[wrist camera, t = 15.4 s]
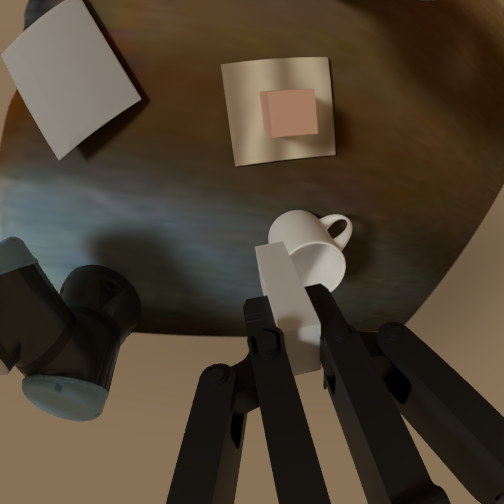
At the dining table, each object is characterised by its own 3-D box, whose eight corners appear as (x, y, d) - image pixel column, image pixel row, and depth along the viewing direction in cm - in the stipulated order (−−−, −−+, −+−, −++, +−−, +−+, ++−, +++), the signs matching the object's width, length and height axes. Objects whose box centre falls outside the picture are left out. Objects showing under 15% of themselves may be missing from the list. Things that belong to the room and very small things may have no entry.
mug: (349, 226, 47) (377, 261, 38) (287, 268, 50) (302, 310, 41) (322, 183, 43) (350, 211, 34) (255, 230, 46) (265, 269, 37)
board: (235, 165, 41) (235, 166, 41) (220, 65, 34) (220, 64, 34) (334, 154, 41) (335, 154, 41) (326, 57, 34) (327, 57, 34)
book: (67, 167, 39) (56, 174, 35) (6, 57, 28) (-9, 57, 24) (149, 106, 36) (142, 108, 33) (79, -9, 25) (68, -16, 22)
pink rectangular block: (264, 130, 38) (272, 137, 32) (259, 91, 35) (266, 91, 30) (303, 126, 38) (318, 133, 32) (299, 88, 36) (314, 88, 30)
